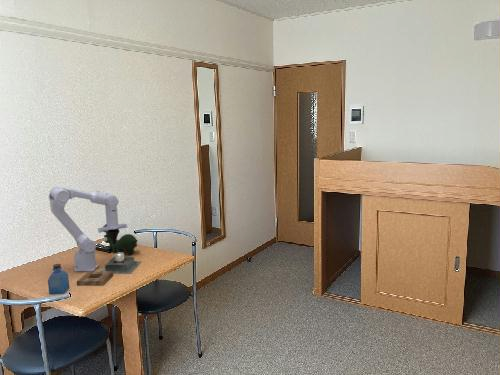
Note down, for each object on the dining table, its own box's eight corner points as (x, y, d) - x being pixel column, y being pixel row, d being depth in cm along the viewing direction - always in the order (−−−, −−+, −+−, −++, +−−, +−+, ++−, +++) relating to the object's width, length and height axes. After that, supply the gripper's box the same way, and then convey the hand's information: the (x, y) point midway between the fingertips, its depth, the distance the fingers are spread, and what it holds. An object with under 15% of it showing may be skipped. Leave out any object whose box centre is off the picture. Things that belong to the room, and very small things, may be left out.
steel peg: (117, 268, 205) (116, 255, 203) (115, 266, 208) (114, 253, 207) (125, 267, 207) (124, 253, 205) (123, 264, 210) (122, 251, 209)
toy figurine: (102, 254, 234) (132, 257, 220) (97, 221, 232) (127, 223, 218) (115, 249, 242) (145, 252, 228) (111, 218, 240) (141, 219, 226)
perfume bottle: (69, 288, 184) (66, 262, 182) (63, 293, 178) (61, 267, 176) (55, 288, 184) (52, 262, 182) (49, 294, 178) (46, 267, 176)
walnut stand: (77, 285, 187) (76, 281, 186) (88, 275, 198) (88, 271, 198) (103, 285, 186) (102, 281, 186) (113, 275, 198) (112, 271, 197)
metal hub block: (98, 273, 200) (97, 266, 200) (110, 262, 216) (110, 255, 215) (130, 273, 199) (130, 266, 199) (141, 262, 215) (140, 255, 214)
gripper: (100, 221, 205) (102, 248, 208) (128, 217, 214) (130, 242, 216) (95, 219, 211) (98, 244, 213) (123, 214, 219) (125, 239, 222)
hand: (114, 243), depth 215 cm, fingers closed
